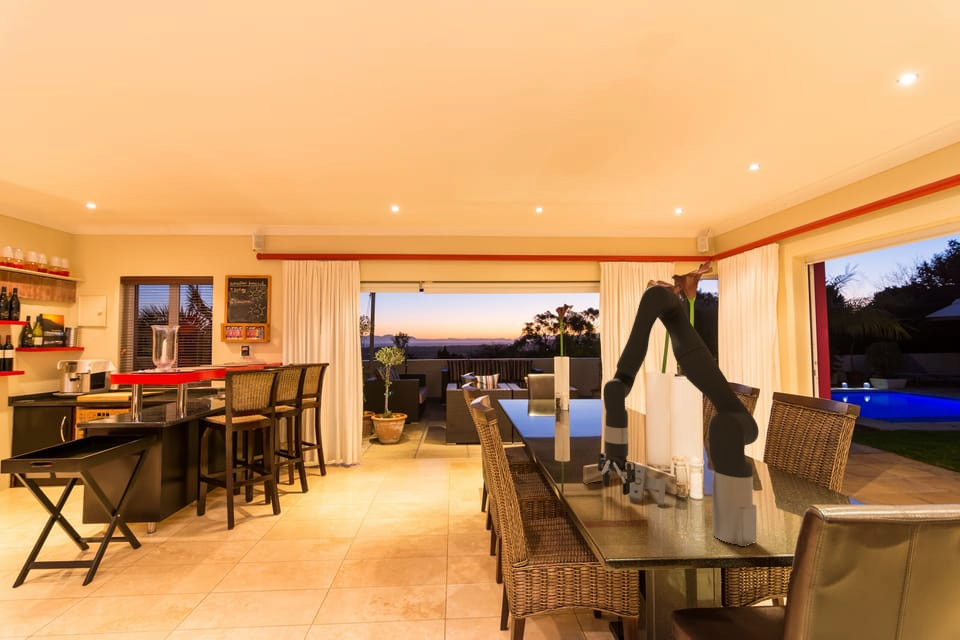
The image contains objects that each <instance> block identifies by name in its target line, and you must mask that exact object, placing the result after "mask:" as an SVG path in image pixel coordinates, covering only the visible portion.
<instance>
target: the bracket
mask: <svg viewBox="0 0 960 640" xmlns="http://www.w3.org/2000/svg"><path fill="white" fill-rule="evenodd" d="M635 478H636V481H635V482H632V483H630V493H629V494H628V498H629V501H630V502H634V503H639V504H641V503H642V501H643V499H644V491H645V490H648V491H649V490H650V491H651V490H652V491H658V496H657V506H658V507H661V508H664V506H665V495H666V494H665V493H666V492H665V482H664V481H663V480H662V479H653V478H647V471H646V467H645V466H639V465H635Z"/></svg>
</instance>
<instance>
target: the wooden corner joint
mask: <svg viewBox="0 0 960 640" xmlns="http://www.w3.org/2000/svg"><path fill="white" fill-rule="evenodd" d="M627 462H629V463H635V465H639V466H645V467H646V471H647V478H653V479H662V480H663V481H664V482H665V493H668V494H671V495H676V494H677V475H674V474H673V473H669V472H666V471H663V470H661V469H657V468H654V467H651V466H649V465H646V464H644V463H641V462H637V461H633V460H631V459H629V458H627ZM606 463H607V462H606ZM582 468H583V469H582V470H583V471H582V473H583V474H582V476H583V477H582V483H583V482H584V483H591V482H596V481H602V482H603V474H602V472H601V471H599V470H598V463H594V464H589V465H583V467H582ZM623 472H624V470H623ZM623 472H622V473H623ZM608 474H610V479H613V480H615V479H614V478H618V479H621V477H620V476H619V475H618V473H616V472H615V471H610V473H608ZM631 478H632V477H631ZM584 483H583V484H584ZM591 484H592V483H591Z"/></svg>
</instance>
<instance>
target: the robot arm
mask: <svg viewBox="0 0 960 640" xmlns="http://www.w3.org/2000/svg"><path fill="white" fill-rule="evenodd" d="M682 304H683V303H682V302H681V299H680V297H679V296H678V294H676V293H675V291H673V290H671V289H669V288H667V287H665V286H662V285H656V284H655V285H651V286H649V287H647V289H645V290H644V292H643V294H642V295H641V298H640V301H639V304H638V308H637V310H636V311H637V312H636V314H635V318H634V321H633V325H632V328H631V330H630V334H629V336H628V339H627V341H626V344H625V346H624V348H623V350H622V352H621V354H620V356H619V357H618V358H619V359H618V360H617V363H616V370H615V373H614V375H613V378H612V379H610V380H608V381H607V382H606V383H605V384H604V386H603V391H602V392H603V393H602V394H603V402H604V409H605V426H604V427H605V428H604V440H603V441H604V445H603V446H604V449H603V450H604V452H600V453H598V460H597V464H598V470H599V471H601V472H602V474H603V481H602V485H603V486H604V487H610V485H611V483H610V482H611V480H610V474H608V473H610V471H615V472H616V473H618V475H619V476H620V477H621V478H620V479H621V481H622V491H621V493H622V495H624V496H626V495H628V496H629V493H630V484H631V483H632V482H635V481H636V478H635V463H629V462H627V459H628V458H627V457H628V456H629V437H630V436H629V415H628V414H629V413H628V411H627V409H626V398H628V396H629V394H630V393H631V391H632V389H633V387H634V384H635V381H636V377H637V375H638V372H639V371H640V369H641V368H642V365H643V364H644V361H645V358H646V357H647V353H648V349H649V344H650V343H649V342H650V336H651V333H652V329H653V326H654V324H655V322H656V321H657V320H658V319H659V320H660V322H661V323H662V325H663V327H664V328H665V329H666V331H667V333H668V335H669V337H670V343H671V350H672V352H673V353H672V354H673V356H674V359H675V360H676V363H677V365H678V366H679V369H680V370H681V372H682V373H683V375H684V376H685V378H686V379H687V380H688V381H689V382H690V383H691V385H693V386H694V387H695V388H696V389H698V390H699V392H701V393H702V394H703V395H704V396H705V397H706V398H707V399H708V400H709V402H710V403H711V404H712V406H713V408H714V409H715V411H716V414H714V415H713V416H712V417H711V419H710V420H709V422H708V423H709V424H708V450H709V458H710V460H711V463H712V523H711V526H712V536H713V537H714V536H715V538H716V539H717V538H718V539H717V540H719V539H720V540H719V541H721V540H722V541H721V542H723V541H725V542H724V543H726V542H728V543H727V544H729V543H733V544H738V545H740V546H745V545H747V544H750V543H753V542H755V541H756V542H757V505H755V504H754V503H753V501H754V500H753V499H754V498H753V497H754V494H753V493H754V491H753V489H754V481H753V479H754V478H753V477H754V468H753V464H752V463H751V462H749V461H748V460H746V455H745V446H748V445H751V444H753V443H755V442H756V441H757V440H758V437H759V432H760V431H759V427H758V423H757V422H756V420H755V417H754V416H753V415H752V413H750V411H749V410H748V408H747V407H746V406H745V404H744V403H743V402H742V400H741V399H740V398H739V396H738V395H737V393H736V392H735V391H734V389H733V388H732V386H731V385H730V383H729V381H728V380H727V377H726V376H725V374H724V373H723V372H722V370H721V368H720V366H719V365H718V364H717V361H716V359H715V358H714V356H713V354H712V353H711V351H710V349H709V348H708V346H707V345H706V343H705V342H704V341H703V339H702V337H701V336H700V334H699V333H698V331H697V330H696V329H695V327H694V326H693V324H692V323H691V321H690V319H689V317H688V315H687V313H686V311H685V309H684V306H683V305H682ZM606 462H607V463H606ZM623 470H624V472H623ZM622 472H623V473H622ZM631 477H632V478H631ZM733 544H732V545H733ZM738 545H737V546H738ZM740 546H739V547H740ZM745 547H746V546H745Z"/></svg>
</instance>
